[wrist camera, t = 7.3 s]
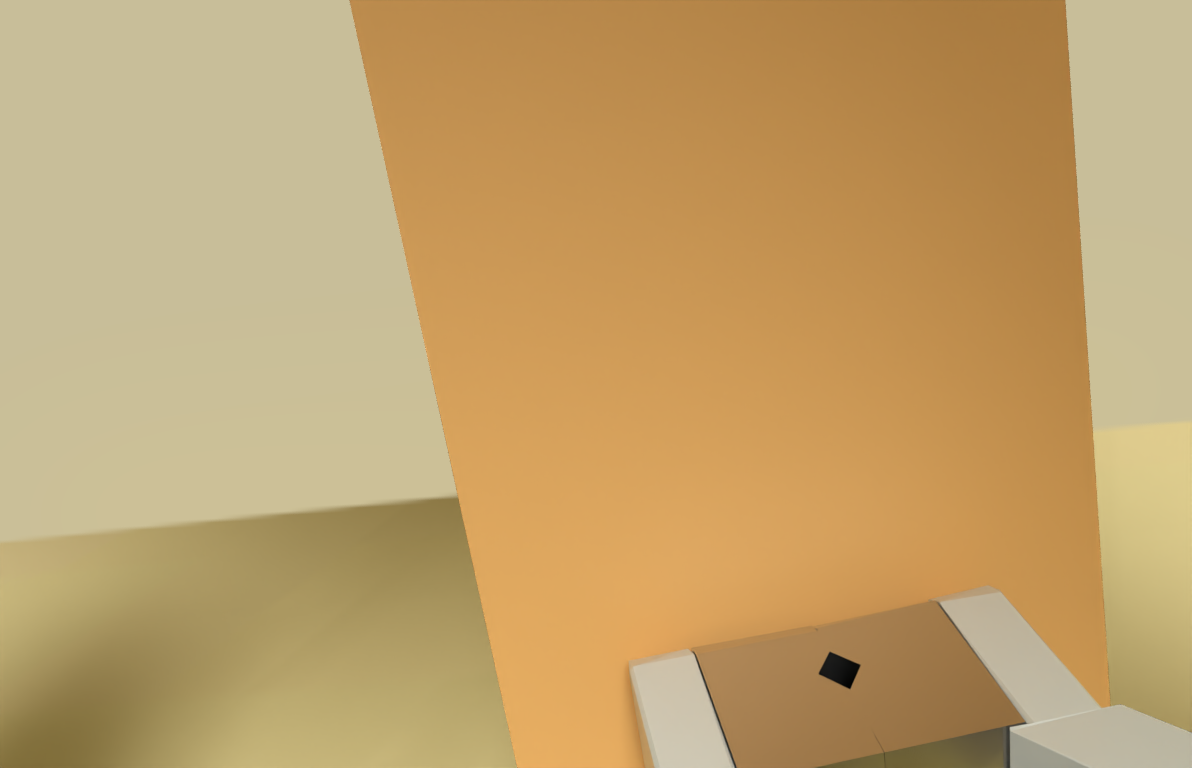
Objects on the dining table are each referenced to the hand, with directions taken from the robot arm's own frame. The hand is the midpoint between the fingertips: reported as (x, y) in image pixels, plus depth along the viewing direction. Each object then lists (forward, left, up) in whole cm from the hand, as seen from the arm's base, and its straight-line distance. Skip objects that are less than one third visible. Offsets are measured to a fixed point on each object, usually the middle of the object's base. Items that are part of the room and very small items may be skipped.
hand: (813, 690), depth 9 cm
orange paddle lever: (0, 0, -6) cm, 6 cm away
